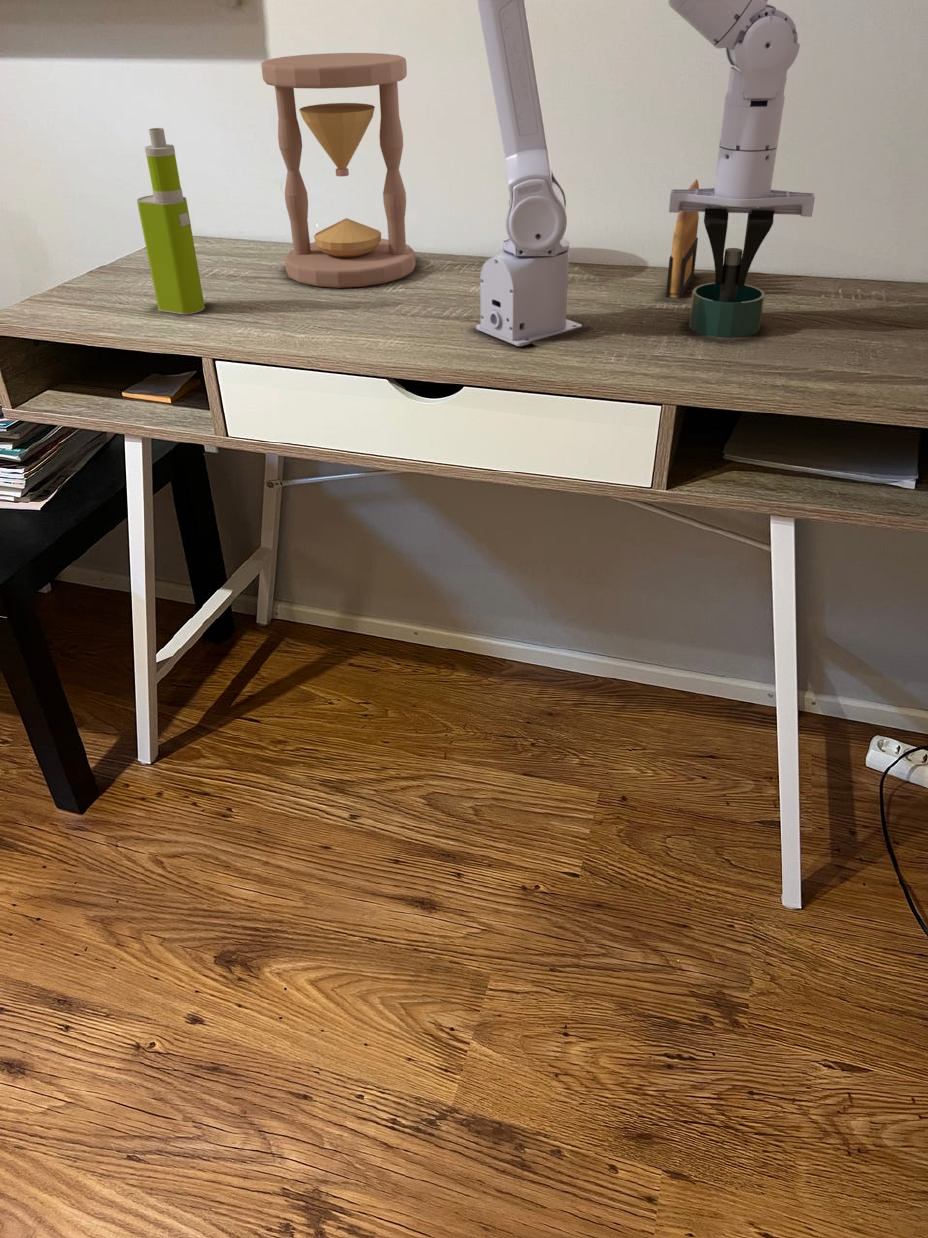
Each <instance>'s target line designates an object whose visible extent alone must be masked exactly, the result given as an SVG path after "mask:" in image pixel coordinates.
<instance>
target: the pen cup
mask: <svg viewBox="0 0 928 1238" xmlns="http://www.w3.org/2000/svg"><path fill="white" fill-rule="evenodd" d="M720 288H721V285H715V282H709V283H703V284H699V285H698V286H695V287H694V288H693V289H692V292H691V299H690V308H689V317H688V327H689V328H690V329H691V330H692V331H694V332H696V333H698V334H701V335H705V336H709V337H715V338H723V339H724V338H728V339H729V338H730V339H732V338H734V339H735V338H744V337H749V336H752V335H755V334H757V333H758V332H759V331H760V329H761V324H762V317H763V313H764V312H763V310H764V304H765V298H766V293H765V292H764V290H762V289H760V288H759V287H757V286H753V285H750V284H744V286H738V287H737V295H736V302H721V301H719V296H720Z"/></svg>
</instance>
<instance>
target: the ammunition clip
mask: <svg viewBox="0 0 928 1238" xmlns="http://www.w3.org/2000/svg"><path fill="white" fill-rule="evenodd" d="M688 189H700V186H699V181H698V179H695V180H694V182H692V184H691V185H690V186H689V188H688ZM699 213H700V212H692V211H679V212H678V213H677V216H676V221H675V228H674V231H673V235H672V246H671V253H670V254H671V255H670V256H669V259H668V269H667V279H666V289H665V298H668V297H669V298H675V299H676V298H678V299H681V298H682V297H683V295H684V293H685V292H686V290H687V288H688V286H689V285H690V283H691V281H692V279H693V277H694V275H695V271H696V270H695V268H696V260H697V250H698V241H699V238H698V229H699V228H698V227H699V220H700V217H699V215H700V214H699Z"/></svg>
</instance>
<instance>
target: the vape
mask: <svg viewBox="0 0 928 1238" xmlns="http://www.w3.org/2000/svg"><path fill="white" fill-rule="evenodd" d="M148 133H149V138H150V143H151V144H150V145H146V146H144V152H145V156H146V161H147V167H148V172H149V177H150V182H151V187H152V189H151V190H152V191H151V192H152V195H151V194H150V195H146V196H141V197H138V198H137V199H136V201H137V202H136V203H137V208H138V212H139V218H140V219H139V220H140V223H141V228H142V233H143V239H144V243H145V248H146V249H145V250H146V254H147V258H148V263H149V269H150V274H151V279H152V284H153V288H154V294H155V299H156V306H157V309H158V311H159V312H165V313H171V314H178V315H193V314H196V313H200V312H202V311H203V310H204V309H205V308H206V307H205V302H204V301H205V300H204V295H203V294H204V293H203V289H202V284H201V277H200V271H199V265H198V260H197V254H196V247H195V242H194V235H193V231H192V230H193V229H192V225H191V218H190V213H189V207H188V199H187V197H185V196H184V194H183V189H182V187H181V181H180V175H179V169H178V164H177V158H176V157H177V156H176V150H175V145H174V144H169V143H167V140H166V135H165V129H164V128H163V127H154V128H149V129H148Z"/></svg>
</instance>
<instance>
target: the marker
mask: <svg viewBox="0 0 928 1238" xmlns="http://www.w3.org/2000/svg"><path fill="white" fill-rule="evenodd" d="M742 254H743V249H742V248H740V247H739V248H738V247H728V248H725V249H724V258H723V278H722V285H721V288H720V296H719V301H721V302H736V295H737V287H738V277H739V272H740V266H741V259H742Z"/></svg>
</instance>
